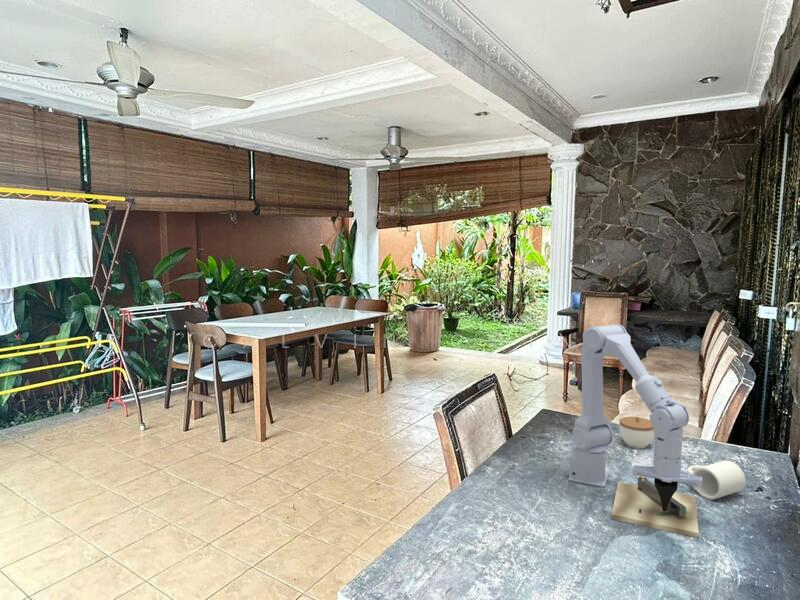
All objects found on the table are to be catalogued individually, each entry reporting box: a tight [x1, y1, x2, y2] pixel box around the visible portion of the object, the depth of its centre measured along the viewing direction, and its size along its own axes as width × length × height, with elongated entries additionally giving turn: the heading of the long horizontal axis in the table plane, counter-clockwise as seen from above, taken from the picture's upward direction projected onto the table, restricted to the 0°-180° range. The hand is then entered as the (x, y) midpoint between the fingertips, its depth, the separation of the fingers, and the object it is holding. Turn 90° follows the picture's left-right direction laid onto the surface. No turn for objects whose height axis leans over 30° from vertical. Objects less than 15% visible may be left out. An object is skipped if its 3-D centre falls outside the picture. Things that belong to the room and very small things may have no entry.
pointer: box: [637, 476, 686, 518], centre depth 127 cm, size 2×16×3 cm, turn 9°
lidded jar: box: [619, 416, 655, 449], centre depth 167 cm, size 11×11×9 cm
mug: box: [686, 460, 747, 501], centre depth 136 cm, size 12×10×8 cm
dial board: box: [611, 481, 700, 539], centre depth 126 cm, size 18×19×1 cm
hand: (664, 509), depth 122 cm, fingers closed
